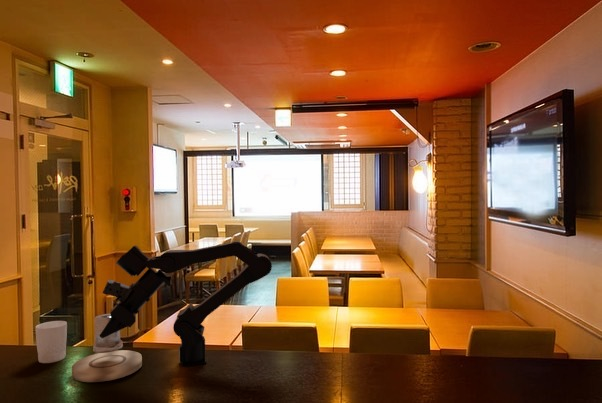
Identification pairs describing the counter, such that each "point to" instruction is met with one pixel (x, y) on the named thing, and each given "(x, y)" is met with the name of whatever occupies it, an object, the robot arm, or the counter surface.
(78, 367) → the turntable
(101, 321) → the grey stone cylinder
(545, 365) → the counter surface
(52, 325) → the white cup
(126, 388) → the counter surface
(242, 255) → the robot arm
